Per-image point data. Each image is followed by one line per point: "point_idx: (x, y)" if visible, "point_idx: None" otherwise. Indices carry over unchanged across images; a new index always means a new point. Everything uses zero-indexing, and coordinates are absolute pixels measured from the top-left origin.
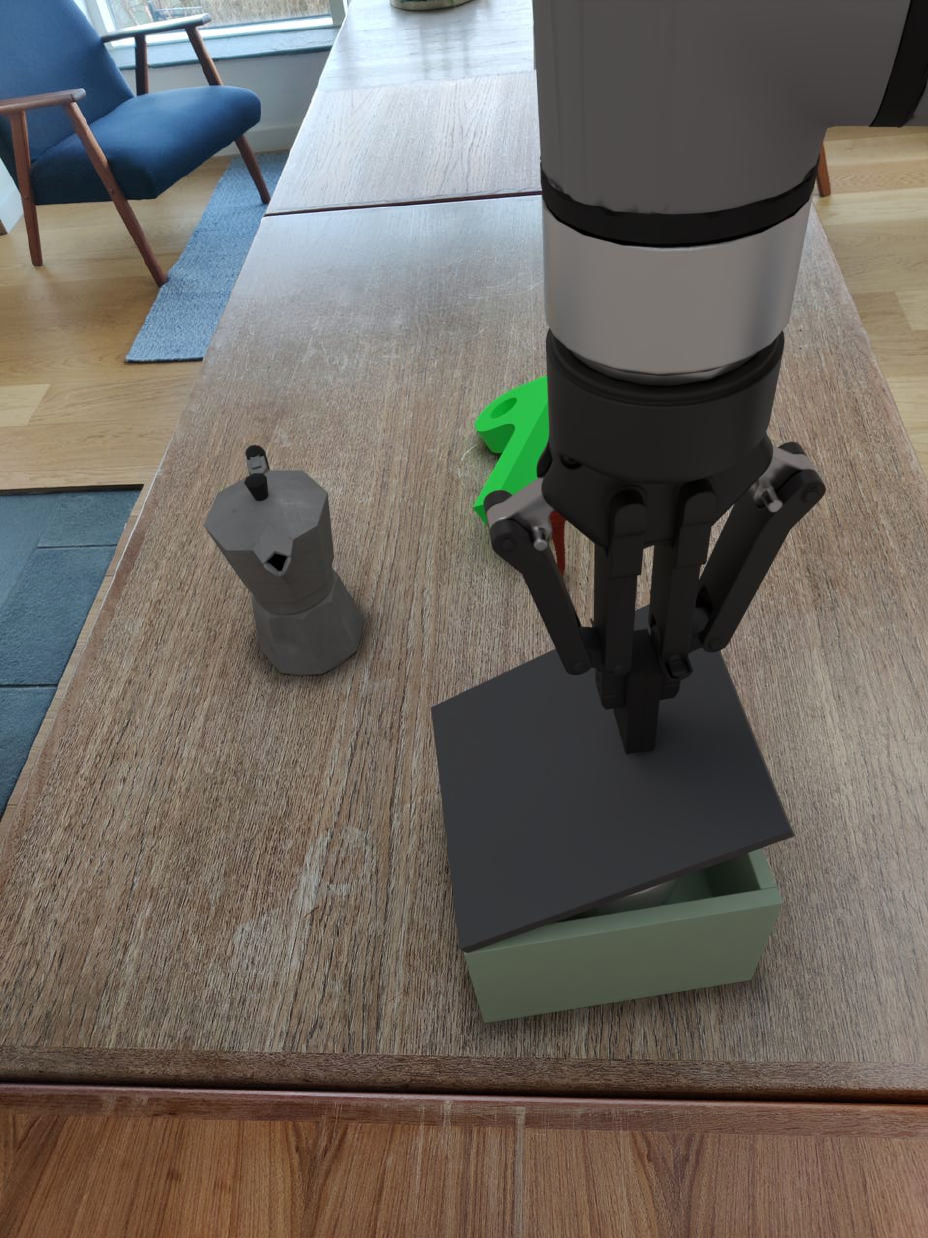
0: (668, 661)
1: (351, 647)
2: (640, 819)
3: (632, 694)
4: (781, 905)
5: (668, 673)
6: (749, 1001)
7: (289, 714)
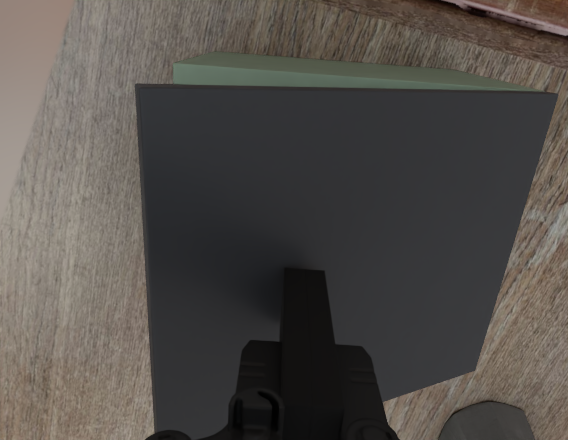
0: (269, 432)
1: (459, 419)
2: (332, 179)
3: (334, 370)
4: (175, 62)
5: (279, 410)
6: (221, 33)
7: (526, 373)
